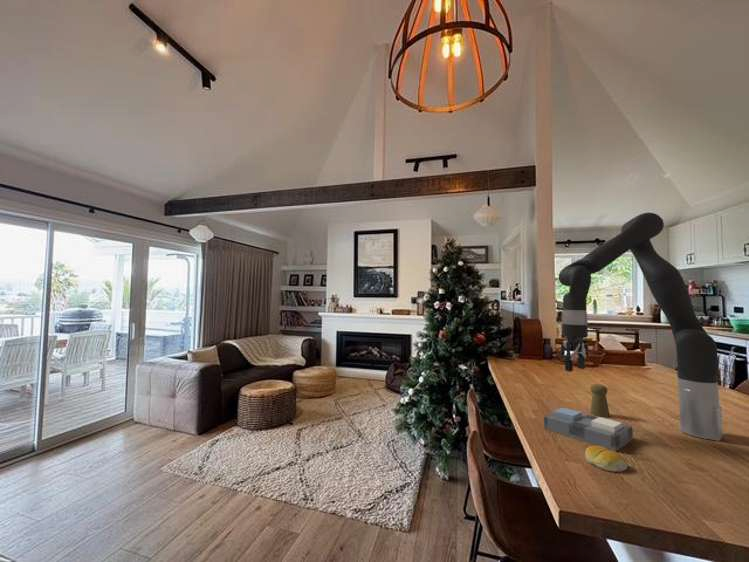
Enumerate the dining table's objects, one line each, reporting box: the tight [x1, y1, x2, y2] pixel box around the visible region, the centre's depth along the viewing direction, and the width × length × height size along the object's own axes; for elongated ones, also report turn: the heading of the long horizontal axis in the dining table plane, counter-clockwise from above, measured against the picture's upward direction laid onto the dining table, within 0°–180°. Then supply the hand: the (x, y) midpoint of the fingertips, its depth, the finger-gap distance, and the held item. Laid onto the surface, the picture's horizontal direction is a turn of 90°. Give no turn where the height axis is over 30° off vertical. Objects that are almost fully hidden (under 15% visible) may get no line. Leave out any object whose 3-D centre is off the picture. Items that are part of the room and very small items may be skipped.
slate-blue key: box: [553, 407, 582, 421], centre depth 108 cm, size 6×6×2 cm
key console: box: [543, 412, 634, 452], centre depth 103 cm, size 20×14×4 cm
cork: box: [590, 383, 611, 418], centre depth 121 cm, size 6×6×11 cm
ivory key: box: [591, 416, 623, 433], centre depth 99 cm, size 6×6×2 cm
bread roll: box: [584, 445, 628, 473], centre depth 84 cm, size 8×9×4 cm
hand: (575, 369), depth 111 cm, fingers open, 8 cm apart
